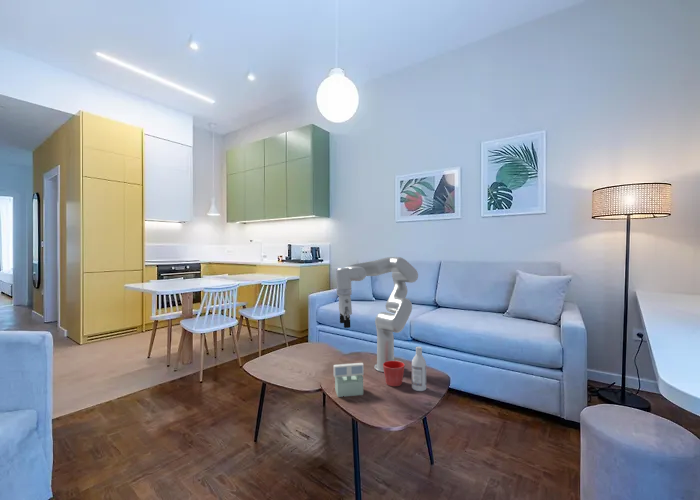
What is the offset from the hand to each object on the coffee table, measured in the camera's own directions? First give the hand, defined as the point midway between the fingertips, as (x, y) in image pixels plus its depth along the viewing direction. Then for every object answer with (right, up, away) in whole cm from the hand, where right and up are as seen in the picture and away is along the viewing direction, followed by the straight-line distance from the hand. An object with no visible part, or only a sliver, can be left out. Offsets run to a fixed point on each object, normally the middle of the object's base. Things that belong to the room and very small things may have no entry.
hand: (345, 325), depth 161 cm
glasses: (+2, -21, -12) cm, 24 cm away
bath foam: (+36, -29, -8) cm, 47 cm away
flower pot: (+25, -29, -2) cm, 38 cm away
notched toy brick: (+2, -29, -12) cm, 31 cm away
